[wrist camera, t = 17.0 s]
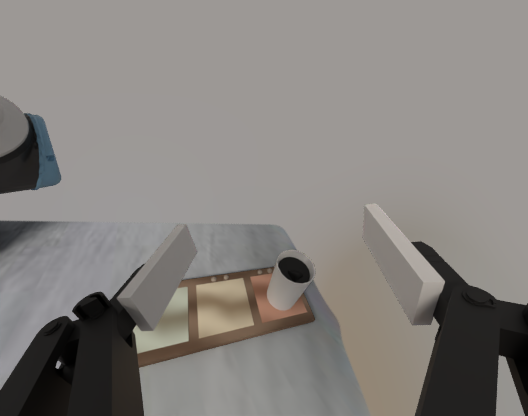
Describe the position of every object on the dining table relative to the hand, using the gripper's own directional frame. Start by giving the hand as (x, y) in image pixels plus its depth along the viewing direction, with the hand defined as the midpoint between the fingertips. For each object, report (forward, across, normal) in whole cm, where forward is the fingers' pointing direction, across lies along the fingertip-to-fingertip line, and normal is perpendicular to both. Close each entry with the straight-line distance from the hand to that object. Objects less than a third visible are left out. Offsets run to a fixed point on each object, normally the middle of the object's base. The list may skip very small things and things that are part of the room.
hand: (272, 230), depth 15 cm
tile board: (+11, -13, -23) cm, 28 cm away
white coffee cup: (+14, -3, -25) cm, 29 cm away
